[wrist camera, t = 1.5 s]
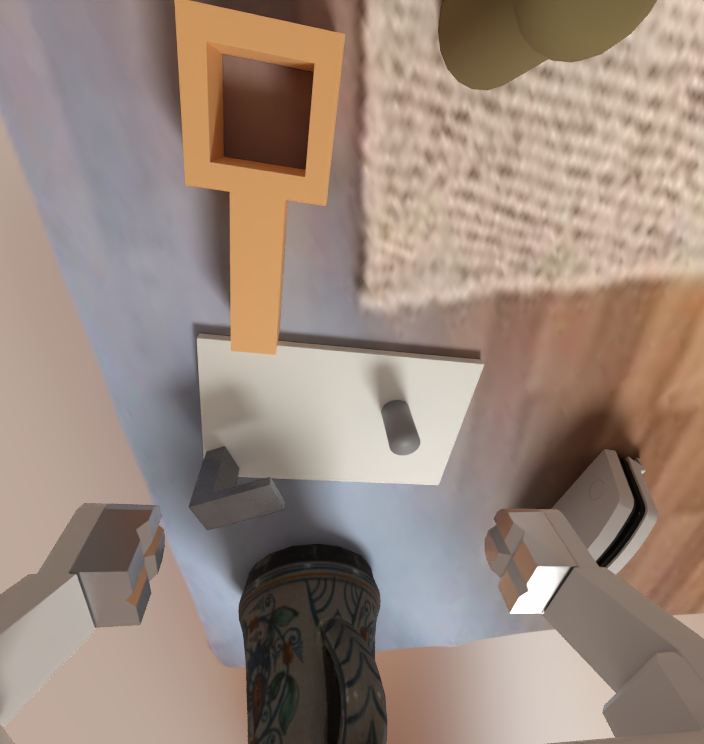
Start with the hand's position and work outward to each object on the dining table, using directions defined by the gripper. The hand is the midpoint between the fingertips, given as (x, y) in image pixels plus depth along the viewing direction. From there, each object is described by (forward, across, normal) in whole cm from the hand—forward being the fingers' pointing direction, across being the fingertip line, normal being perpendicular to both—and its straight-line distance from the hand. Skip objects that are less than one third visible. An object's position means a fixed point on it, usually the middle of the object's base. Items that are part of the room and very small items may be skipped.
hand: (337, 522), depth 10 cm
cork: (+22, -8, -15) cm, 27 cm away
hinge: (+23, -31, +24) cm, 45 cm away
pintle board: (+22, -3, +13) cm, 26 cm away
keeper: (+22, +5, +17) cm, 29 cm away
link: (+22, +4, -4) cm, 22 cm away
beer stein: (+23, -3, +38) cm, 45 cm away
